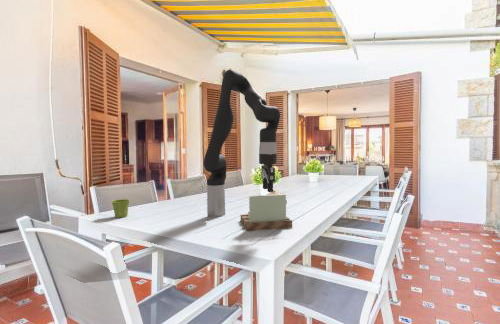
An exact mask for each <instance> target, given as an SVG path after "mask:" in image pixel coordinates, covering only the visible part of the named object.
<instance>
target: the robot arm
mask: <svg viewBox="0 0 500 324" xmlns="http://www.w3.org/2000/svg"><path fill="white" fill-rule="evenodd" d="M232 91H233V92H236V93H240V94H242V95H243V96H244V97H243V98H244V101H245V104H246V105H247V106H248V107H249V108H250V109H251V110H252V112H253V115H254V118H255V119H256V120H257V121H259V122H260V123H267V126H266V127H264V128H261V129H260V130H259V144H258V145H259V146H258V147H259V148H258V164H260V165H261V168H260V169H261V174H260V176H261V177H260V178H261V180H262V189H264V190H267V192H268V193H270V192H273V190H274V183H275V182H276V170H275V169H276V168H275V167H273V165H276V164H277V161H278V160H277V158H278V157H277V155H278V153H277V132H278V127H279V122H280V120H281V112H280V109H279V107H277V106H273V105H267V101H266V99H264V97H263V96H262V95H260V94H259V93H258V92H257V90H255V88H254V87H253V85H252V84H251V82H250V81H249V80H248V78H247V76H246V75H245V74H243V73H242V72H239V71H235V70H232V69H227V70H226V71H225V72H224V74H223V76H222V82H221V87H220V95H219V100H218V106H217V110H216V113H215V114H216V115H215V118H214V121H213V125H212V126H213V127H212V132H211V135H210V139H209V143H208V145H207V150H206V152H205V154H204V158H203V167H204V170H205V171H207V172H208V173H210V176H209V177H208V178H207V180H206V196H207V197H206V198H207V199H206V216H207V218H212V217H213V218H215V217H218V218H219V217H224V216H225V215H226V190H225V189H226V186H225V185H226V179H227V159H226V157H225V156H224V154H221V151H222V148H223V146H224V144H225V142H226V141H227V139H228V137H229V136H230V133H231V132H232V129H233V125H234V120H235V115H234V111H233V108H232V105H231V94H232Z"/></svg>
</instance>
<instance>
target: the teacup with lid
mask: <svg viewBox="0 0 500 324" xmlns="http://www.w3.org/2000/svg"><path fill="white" fill-rule="evenodd" d="M266 195H282V194H281V193H279V192H277V190H275V189H273V192H268V193H267V194H266ZM287 204H288V201H287V199H286V205H287Z"/></svg>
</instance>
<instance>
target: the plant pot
mask: <svg viewBox="0 0 500 324" xmlns="http://www.w3.org/2000/svg"><path fill="white" fill-rule="evenodd" d="M130 201H131V200H130V199H125V198H123V199H116V200H111V201H110V203H111V205H112V207H113V212H114V217H115V218H118V219H119V218H126V217H128V215H129V213H128V212H129V204H130Z"/></svg>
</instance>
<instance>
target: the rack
mask: <svg viewBox="0 0 500 324" xmlns="http://www.w3.org/2000/svg"><path fill="white" fill-rule="evenodd" d="M240 223H241V224H242V225H243V227H244V229H245V230H246V231H248V232H253V231H267V230H281V229H293V220H292V219H290V218H289V217H288V216H286V220H282V221H267V222H251V223H250V219H248V213H247V214H240Z"/></svg>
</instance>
